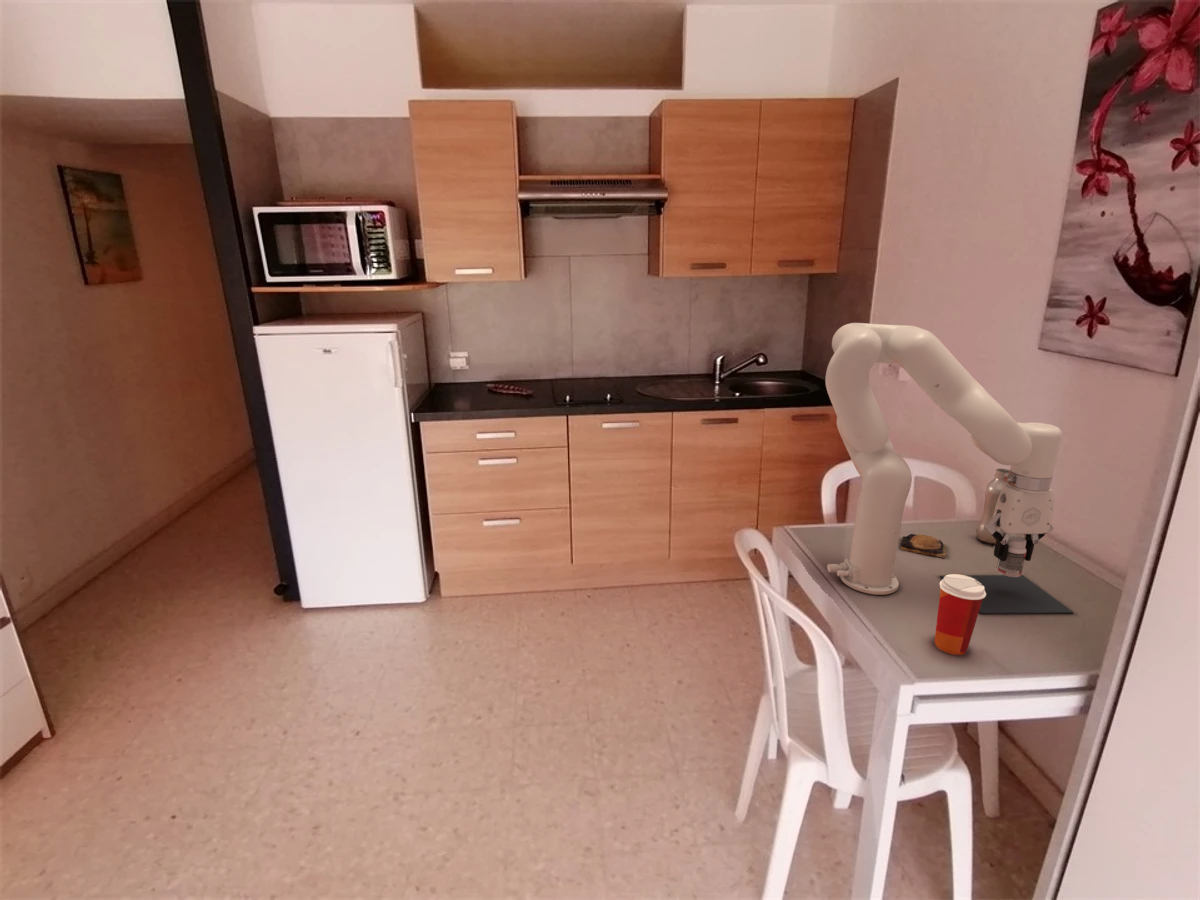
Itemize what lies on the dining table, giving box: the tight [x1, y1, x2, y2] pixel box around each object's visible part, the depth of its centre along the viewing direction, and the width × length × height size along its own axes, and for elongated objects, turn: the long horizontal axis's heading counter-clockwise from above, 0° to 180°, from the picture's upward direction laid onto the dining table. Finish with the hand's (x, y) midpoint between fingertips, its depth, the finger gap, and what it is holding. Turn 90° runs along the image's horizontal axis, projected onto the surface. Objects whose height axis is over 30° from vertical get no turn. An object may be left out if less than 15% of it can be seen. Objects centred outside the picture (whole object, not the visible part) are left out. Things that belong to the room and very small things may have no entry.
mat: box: [939, 574, 1074, 615], centre depth 138 cm, size 20×16×1 cm
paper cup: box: [934, 573, 986, 656], centre depth 117 cm, size 8×8×14 cm
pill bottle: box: [995, 534, 1026, 577], centre depth 135 cm, size 5×5×8 cm
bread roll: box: [900, 533, 947, 559], centre depth 159 cm, size 11×8×4 cm
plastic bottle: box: [975, 468, 1010, 544], centre depth 161 cm, size 6×7×20 cm
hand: (1011, 557), depth 135 cm, fingers closed on pill bottle, 4 cm apart
